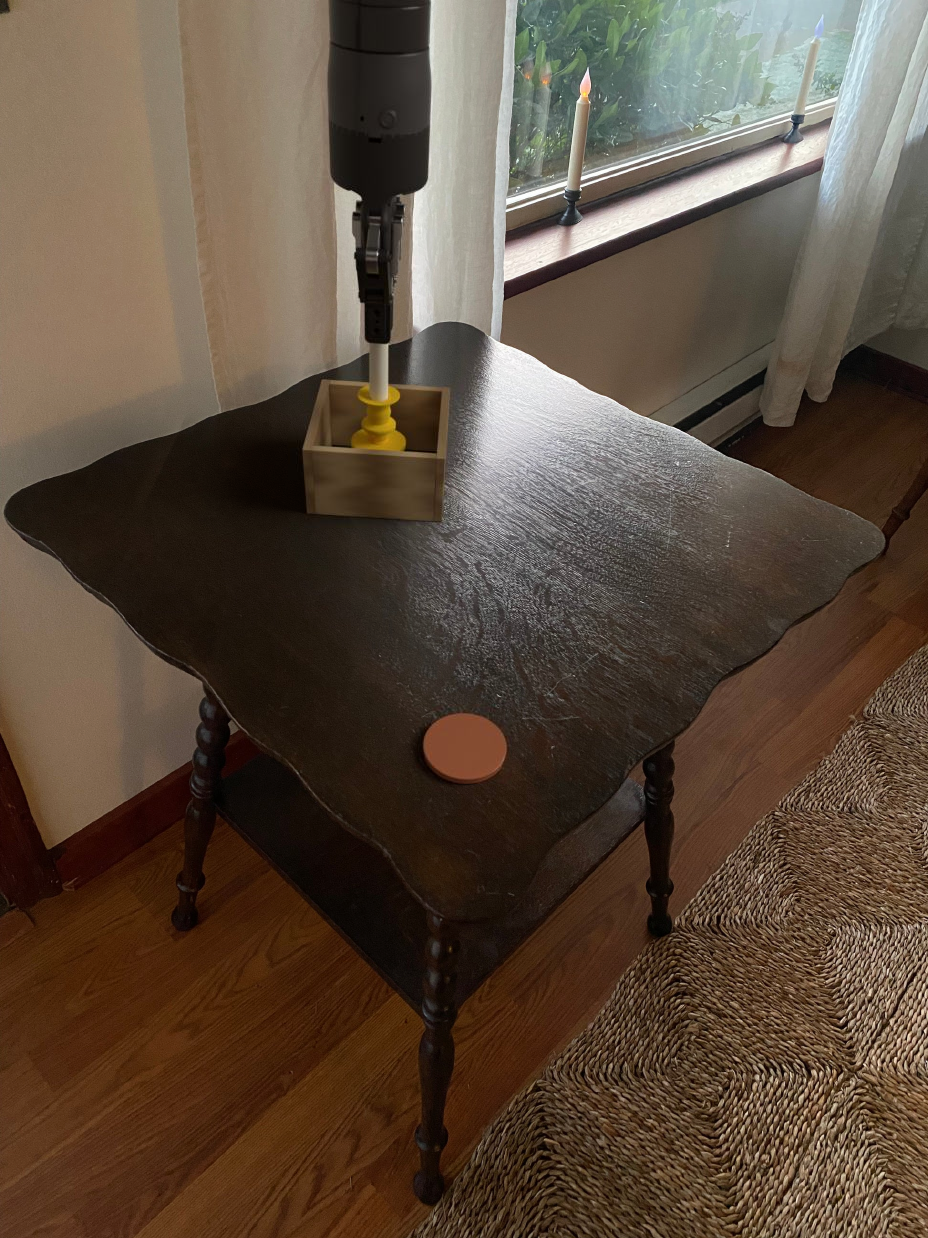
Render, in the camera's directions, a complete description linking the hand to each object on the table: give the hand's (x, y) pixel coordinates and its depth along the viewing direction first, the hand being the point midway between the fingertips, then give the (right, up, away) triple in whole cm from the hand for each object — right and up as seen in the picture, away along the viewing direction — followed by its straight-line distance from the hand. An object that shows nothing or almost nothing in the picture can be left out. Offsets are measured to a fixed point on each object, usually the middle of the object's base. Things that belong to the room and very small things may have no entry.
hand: (379, 335), depth 78 cm
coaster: (+7, -34, -13) cm, 37 cm away
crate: (-1, -11, +10) cm, 15 cm away
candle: (-1, -8, +8) cm, 11 cm away
